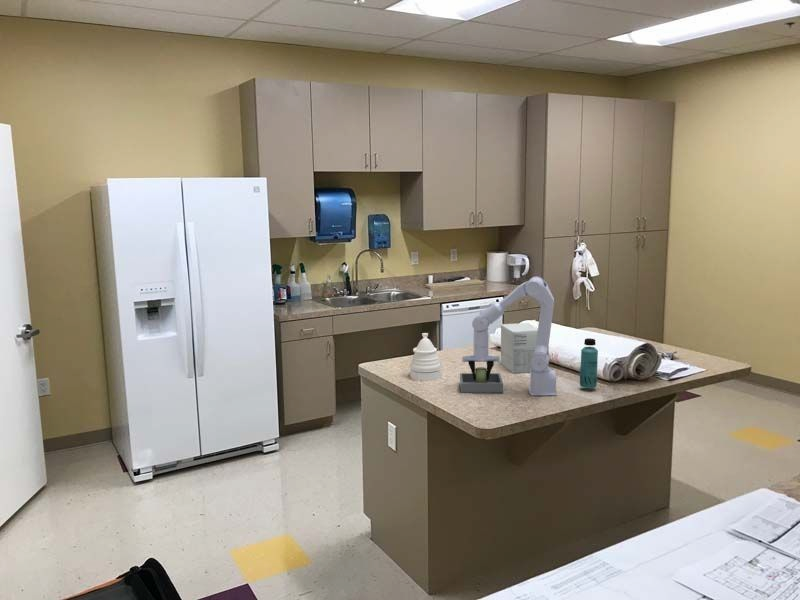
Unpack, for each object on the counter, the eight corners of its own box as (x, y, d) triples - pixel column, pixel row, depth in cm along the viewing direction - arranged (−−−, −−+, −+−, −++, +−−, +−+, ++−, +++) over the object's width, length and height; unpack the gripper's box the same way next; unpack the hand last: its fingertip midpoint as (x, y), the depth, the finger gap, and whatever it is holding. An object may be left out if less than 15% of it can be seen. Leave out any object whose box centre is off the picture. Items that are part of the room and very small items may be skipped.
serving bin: (499, 382, 262) (499, 373, 261) (503, 393, 248) (503, 383, 247) (459, 382, 263) (459, 373, 262) (460, 393, 249) (460, 383, 248)
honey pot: (410, 372, 279) (409, 331, 276) (440, 372, 279) (439, 331, 276) (410, 381, 266) (410, 338, 263) (442, 380, 266) (441, 337, 263)
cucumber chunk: (486, 381, 257) (486, 367, 256) (487, 385, 253) (487, 370, 252) (474, 381, 257) (474, 367, 256) (475, 385, 253) (475, 370, 252)
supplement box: (542, 372, 276) (543, 330, 273) (512, 373, 274) (512, 331, 271) (528, 361, 293) (528, 322, 290) (499, 363, 291) (500, 323, 288)
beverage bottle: (575, 388, 252) (577, 338, 249) (588, 386, 255) (589, 336, 252) (588, 393, 246) (590, 341, 243) (600, 390, 250) (602, 339, 246)
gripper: (462, 348, 249) (462, 382, 251) (500, 348, 248) (500, 382, 250) (461, 344, 256) (462, 377, 258) (499, 343, 255) (498, 377, 257)
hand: (480, 379), depth 255 cm, fingers open, 4 cm apart
